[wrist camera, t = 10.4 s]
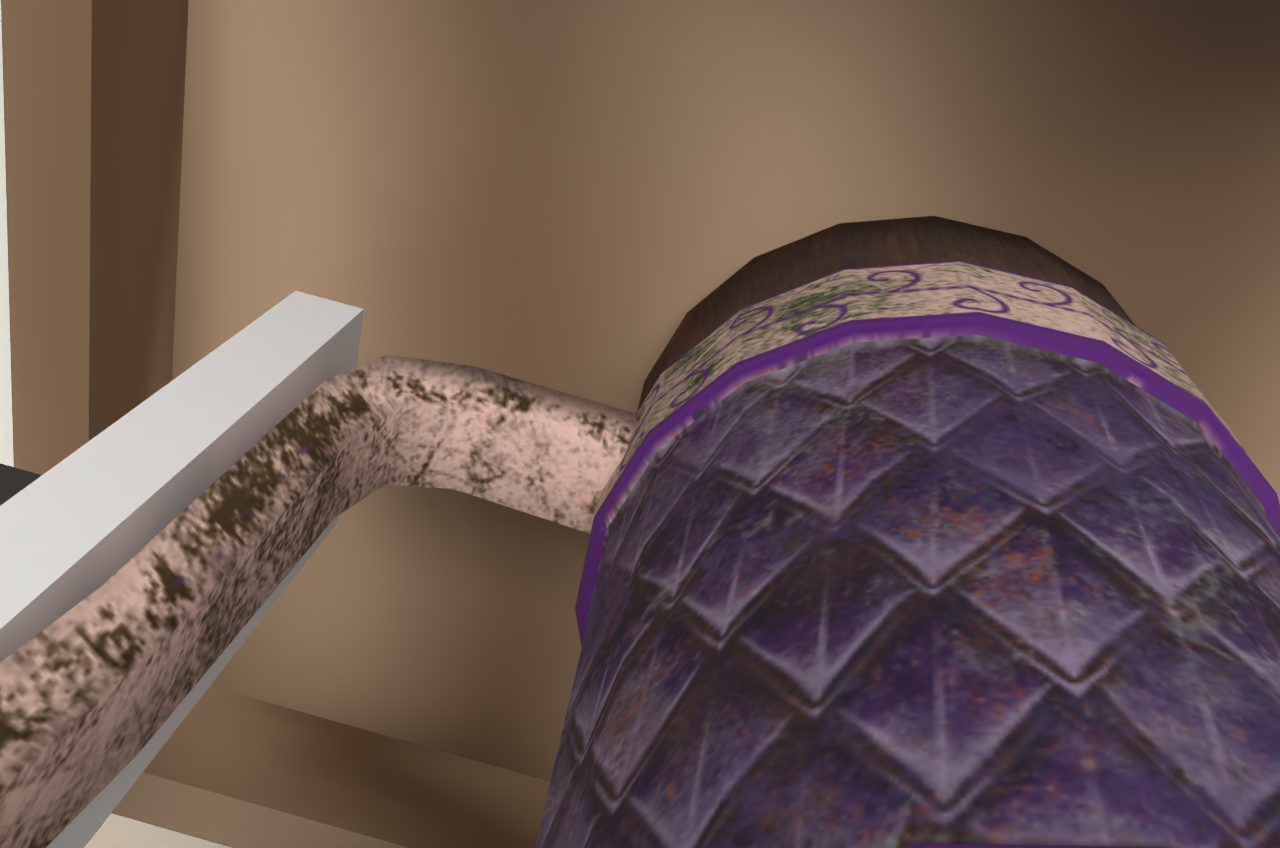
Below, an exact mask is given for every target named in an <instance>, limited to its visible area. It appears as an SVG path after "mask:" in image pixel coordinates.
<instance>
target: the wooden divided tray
mask: <svg viewBox="0 0 1280 848" xmlns="http://www.w3.org/2000/svg"><path fill="white" fill-rule="evenodd" d="M1 10H2V47H3V84H4V121H5V158H6V194H7V231H8V268H9V305H10V342H11V378H12V415H13V452H14V468H18V469H22V470H25V471H29V472H32V473H36V474H40V475H43V474H45V473H46V472H47V471H49V470H50V469H52V468H53V467H54V466H56V465H57V464H58V463H60V462H61V461H63V460H64V459H65V458H67V457H68V456H69V455H71V454H72V453H73V452H75V451H76V450H78V449H79V448H80V447H82V446H83V445H84V444H86V443H87V442H89V441H90V440H91V439H93V438H94V437H95V436H97V435H98V434H100V433H101V432H102V431H104V430H105V429H106V428H108V427H109V426H111V425H112V424H113V423H115V422H116V421H117V420H119V419H120V418H122V417H123V416H124V415H126V414H127V413H128V412H130V411H131V410H133V409H134V408H135V407H137V406H138V405H139V404H141V403H142V402H144V401H145V400H146V399H148V398H149V397H150V396H152V395H153V394H155V393H156V392H157V391H159V390H160V389H161V388H163V387H164V386H166V385H167V384H168V383H170V382H171V381H172V380H174V379H175V378H176V377H178V376H179V375H181V374H182V373H183V372H185V371H186V370H187V369H189V368H190V367H192V366H193V365H194V364H196V363H197V362H198V361H200V360H201V359H203V358H204V357H205V356H207V355H208V354H209V353H211V352H212V351H214V350H215V349H216V348H218V347H219V346H220V345H222V344H223V343H225V342H226V341H227V340H229V339H230V338H231V337H233V336H234V335H236V334H237V333H238V332H240V331H241V330H242V329H244V328H245V327H247V326H248V325H249V324H251V323H252V322H253V321H255V320H256V319H258V318H259V317H260V316H262V315H263V314H264V313H266V312H267V311H269V310H270V309H271V308H273V307H274V306H275V305H277V304H278V303H279V302H281V301H282V300H284V299H285V298H286V297H288V296H289V295H290V294H292V293H293V292H295V291H299V292H303V293H306V294H310V295H314V296H317V297H321V298H325V299H329V300H332V301H336V302H340V303H343V304H347V305H351V306H355V307H358V308H362V309H364V312H363V320H362V328H361V336H360V344H359V352H358V360H357V367H358V366H361V365H363V364H366V363H368V362H371V361H373V360H375V359H378V358H380V357H383V356H385V355H394V356H401V357H409V358H416V359H424V360H431V361H438V362H446V363H453V364H460V365H468V366H475V367H479V368H483V369H486V370H489V371H493V372H496V373H500V374H503V375H506V376H510V377H513V378H517V379H520V380H523V381H527V382H530V383H534V384H537V385H540V386H544V387H547V388H551V389H554V390H558V391H561V392H564V393H568V394H571V395H575V396H578V397H581V398H585V399H588V400H592V401H595V402H598V403H602V404H605V405H609V406H612V407H615V408H619V409H622V410H626V411H629V412H633V413H636V412H637V410H638V406H639V402H640V398H641V393H642V389H643V385H644V381H645V379H646V378H647V376H648V374H649V373H650V371H651V370H652V368H653V366H654V365H655V363H656V362H657V360H658V358H659V357H660V355H661V353H662V352H663V350H664V349H665V347H666V345H667V344H668V342H669V341H670V339H671V337H672V336H673V334H674V333H675V331H676V329H677V328H678V326H679V325H680V323H681V321H682V320H683V318H684V317H685V315H686V313H687V312H688V311H690V310H691V309H692V308H693V307H694V306H696V305H697V304H698V303H699V302H700V301H702V300H703V299H704V298H705V297H707V296H708V295H709V294H710V293H711V292H713V291H714V290H715V289H716V288H717V287H719V286H720V285H721V284H722V283H724V282H725V281H726V280H727V279H728V278H730V277H731V276H732V275H733V274H734V273H736V272H737V271H738V270H739V269H741V268H742V267H743V266H744V265H745V264H747V263H748V262H749V261H750V260H751V259H753V258H754V257H756V256H759V255H761V254H764V253H766V252H769V251H771V250H774V249H776V248H779V247H781V246H784V245H786V244H789V243H791V242H794V241H796V240H799V239H801V238H804V237H806V236H809V235H811V234H814V233H816V232H819V231H821V230H824V229H826V228H829V227H831V226H834V225H836V224H839V223H849V222H862V221H874V220H887V219H899V218H912V217H924V216H938V217H942V218H946V219H951V220H955V221H959V222H964V223H968V224H972V225H977V226H981V227H985V228H990V229H994V230H998V231H1003V232H1007V233H1011V234H1016V235H1020V236H1025V237H1027V238H1029V239H1030V240H1032V241H1034V242H1035V243H1037V244H1039V245H1040V246H1042V247H1043V248H1045V249H1047V250H1048V251H1050V252H1052V253H1053V254H1055V255H1056V256H1058V257H1060V258H1061V259H1063V260H1065V261H1066V262H1068V263H1069V264H1071V265H1073V266H1074V267H1076V268H1078V269H1079V270H1081V271H1082V272H1084V273H1086V274H1087V275H1089V276H1091V277H1092V278H1094V279H1095V280H1097V281H1099V282H1100V283H1102V284H1103V285H1104V286H1105V287H1106V289H1107V290H1108V291H1109V292H1110V294H1111V295H1112V296H1113V297H1114V299H1115V300H1116V301H1117V302H1118V304H1119V305H1120V306H1121V308H1122V309H1123V310H1124V311H1125V313H1126V314H1127V315H1128V316H1129V318H1130V319H1131V320H1132V322H1133V323H1134V324H1135V325H1136V326H1137V327H1138V328H1140V329H1142V330H1143V331H1145V332H1147V333H1148V334H1150V335H1152V336H1153V337H1155V338H1156V339H1158V340H1160V341H1161V342H1163V343H1164V344H1165V346H1166V347H1167V348H1168V349H1169V351H1170V352H1171V353H1172V355H1173V356H1174V357H1175V358H1176V360H1177V361H1178V362H1179V363H1180V365H1181V366H1182V367H1183V369H1184V370H1185V371H1186V372H1187V374H1188V375H1189V376H1190V378H1191V379H1192V380H1193V381H1194V383H1195V384H1196V385H1197V386H1198V388H1199V389H1200V390H1201V392H1202V393H1203V394H1204V395H1205V397H1206V398H1207V399H1208V401H1209V402H1210V403H1211V404H1212V406H1213V407H1214V408H1215V409H1216V411H1217V412H1218V413H1219V415H1220V416H1221V417H1222V418H1223V420H1224V421H1225V422H1226V424H1227V425H1228V426H1229V428H1230V429H1231V431H1232V432H1233V433H1234V435H1235V436H1236V437H1237V439H1238V440H1239V442H1240V443H1241V444H1242V446H1243V447H1244V449H1245V450H1246V451H1247V453H1248V454H1249V456H1250V457H1251V458H1252V460H1253V461H1254V462H1255V464H1256V465H1257V467H1258V468H1259V469H1260V471H1261V472H1262V474H1263V475H1264V476H1265V478H1266V479H1267V480H1268V482H1269V483H1270V485H1271V486H1272V487H1273V489H1274V490H1275V492H1276V493H1277V496H1278V500H1279V504H1280V0H1ZM589 538H590V534H589V533H586V532H583V531H580V530H577V529H574V528H571V527H568V526H565V525H562V524H559V523H556V522H553V521H550V520H547V519H544V518H541V517H537V516H534V515H531V514H528V513H525V512H522V511H519V510H516V509H513V508H510V507H507V506H504V505H501V504H498V503H495V502H492V501H489V500H486V499H483V498H479V497H476V496H473V495H470V494H467V493H464V492H461V491H457V490H453V489H447V488H431V487H416V486H400V485H384V486H382V487H381V488H379V489H378V490H376V491H375V492H373V493H372V494H370V495H369V496H367V497H366V498H364V499H363V500H361V501H360V502H358V503H357V504H355V505H354V506H352V507H351V508H349V509H348V510H346V511H345V512H343V513H342V514H340V515H339V516H338V520H337V524H336V525H335V526H334V527H333V529H332V530H331V531H330V533H329V534H328V535H327V536H326V538H325V539H324V540H323V541H322V543H321V544H320V545H319V547H318V548H317V549H316V550H315V552H314V553H313V554H312V556H311V557H310V558H309V559H308V561H307V562H306V563H305V565H304V566H303V567H302V568H301V570H300V571H299V572H298V574H297V575H296V576H295V577H294V579H293V580H292V581H291V583H290V584H289V585H288V586H287V588H286V589H285V590H284V592H283V593H282V594H281V595H280V597H279V598H278V599H277V601H276V602H275V603H274V604H273V606H272V607H271V608H270V610H269V611H268V612H267V613H266V615H265V616H264V617H263V619H262V620H261V621H260V622H259V624H258V625H257V626H256V628H255V629H254V630H253V631H252V633H251V634H250V635H249V636H248V638H247V639H246V640H245V642H244V643H243V644H242V645H241V647H240V648H239V649H238V651H237V652H236V653H235V654H234V656H233V657H232V658H231V660H230V661H229V662H228V663H227V665H226V666H225V667H224V669H223V670H222V671H221V672H220V674H219V675H218V676H217V678H216V679H215V680H214V681H213V683H212V684H211V685H210V687H209V688H208V689H207V690H206V692H205V693H204V694H203V696H202V697H201V698H200V699H199V701H198V702H197V703H196V705H195V706H194V707H193V708H192V710H191V711H190V712H189V714H188V715H187V716H186V717H185V719H184V720H183V721H182V723H181V724H180V725H179V726H178V728H177V729H176V730H175V731H174V733H173V734H172V735H171V737H170V738H169V739H168V740H167V742H166V743H165V744H164V746H163V747H162V748H161V749H160V751H159V752H158V753H157V755H156V756H155V757H154V758H153V760H152V761H151V762H150V764H149V765H148V766H147V767H146V769H145V770H144V771H143V773H142V774H141V775H140V776H139V778H138V779H137V780H136V782H135V783H134V784H133V785H132V787H131V788H130V789H129V791H128V792H127V793H126V794H125V796H124V797H123V798H122V800H121V801H120V802H119V803H118V805H117V806H116V807H115V809H114V810H113V811H112V812H111V813H113V814H117V815H120V816H124V817H127V818H131V819H134V820H138V821H141V822H145V823H148V824H152V825H155V826H159V827H162V828H166V829H169V830H173V831H176V832H180V833H183V834H187V835H190V836H194V837H197V838H201V839H204V840H208V841H211V842H215V843H218V844H222V845H225V846H229V847H232V848H535V845H536V841H537V837H538V832H539V828H540V824H541V820H542V815H543V811H544V807H545V803H546V798H547V794H548V790H549V786H550V781H551V777H552V773H553V768H554V764H555V760H556V756H557V751H558V747H559V743H560V739H561V734H562V730H563V726H564V722H565V717H566V713H567V709H568V705H569V700H570V696H571V692H572V687H573V683H574V679H575V675H576V670H577V666H578V662H579V658H580V653H581V649H582V648H581V642H580V636H579V630H578V624H577V618H576V612H575V605H576V601H577V596H578V591H579V586H580V581H581V577H582V572H583V567H584V562H585V558H586V553H587V548H588V543H589Z"/></svg>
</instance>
